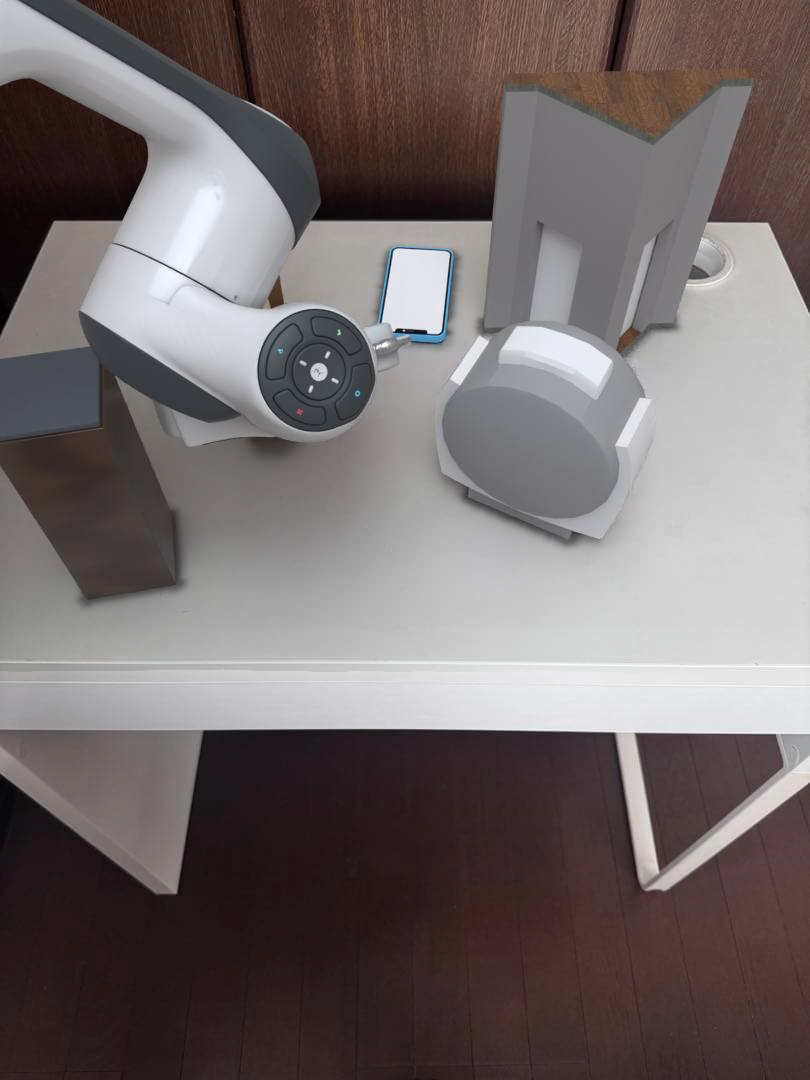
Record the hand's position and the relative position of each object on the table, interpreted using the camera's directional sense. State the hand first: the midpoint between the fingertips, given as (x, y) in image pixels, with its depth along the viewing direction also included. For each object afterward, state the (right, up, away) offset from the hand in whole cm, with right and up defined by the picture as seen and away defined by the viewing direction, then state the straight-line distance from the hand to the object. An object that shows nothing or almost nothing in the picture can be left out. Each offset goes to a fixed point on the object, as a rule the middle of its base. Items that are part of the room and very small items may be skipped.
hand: (268, 376), depth 78 cm
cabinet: (+31, +6, +18) cm, 36 cm away
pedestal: (-13, -16, +4) cm, 21 cm away
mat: (-14, -4, -15) cm, 21 cm away
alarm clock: (+24, -11, +7) cm, 27 cm away
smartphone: (+14, +13, +22) cm, 29 cm away
